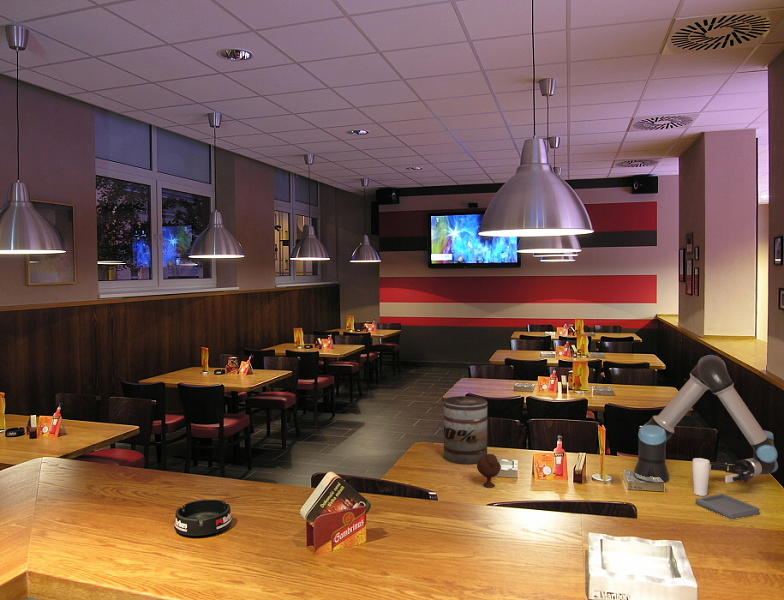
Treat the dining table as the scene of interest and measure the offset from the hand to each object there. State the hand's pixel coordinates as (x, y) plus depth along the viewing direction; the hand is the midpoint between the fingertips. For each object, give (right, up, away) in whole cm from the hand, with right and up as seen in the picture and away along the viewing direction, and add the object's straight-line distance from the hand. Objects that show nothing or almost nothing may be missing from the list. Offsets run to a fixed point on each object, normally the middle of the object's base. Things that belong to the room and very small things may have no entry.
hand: (712, 474), depth 262 cm
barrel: (-101, -6, +52) cm, 114 cm away
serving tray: (-3, -9, -17) cm, 20 cm away
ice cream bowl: (-96, -9, +11) cm, 97 cm away
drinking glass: (-6, -9, -1) cm, 10 cm away
